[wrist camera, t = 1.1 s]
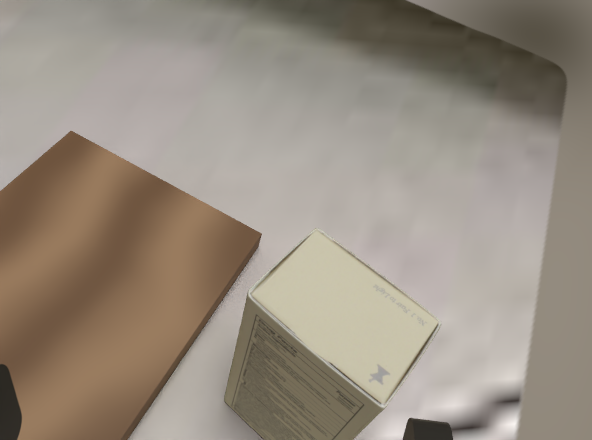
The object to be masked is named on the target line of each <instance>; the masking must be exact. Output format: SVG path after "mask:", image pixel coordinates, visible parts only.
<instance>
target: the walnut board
mask: <svg viewBox="0 0 592 440" xmlns="http://www.w3.org/2000/svg"><path fill="white" fill-rule="evenodd" d="M261 235H262V234H261V233H259V232H258V231H256V230H254V229H252V228H250V227H248V226H246V225H245V224H243V223H241V222H239V221H237V220H235V219H234V218H232V217H230V216H228V215H226V214H224V213H222V212H221V211H219V210H217V209H215V208H213V207H211V206H209V205H208V204H206V203H204V202H202V201H200V200H198V199H197V198H195V197H193V196H191V195H189V194H187V193H185V192H184V191H182V190H180V189H178V188H176V187H174V186H172V185H171V184H169V183H167V182H165V181H163V180H161V179H160V178H158V177H156V176H154V175H152V174H150V173H148V172H147V171H145V170H143V169H141V168H139V167H137V166H135V165H134V164H132V163H130V162H128V161H126V160H124V159H123V158H121V157H119V156H117V155H115V154H113V153H111V152H110V151H108V150H106V149H104V148H102V147H100V146H99V145H97V144H95V143H93V142H91V141H89V140H87V139H86V138H84V137H82V136H80V135H78V134H76V133H74V132H73V131H70V132H69V133H68V134H67V135H66V136H64V137H63V138H62V139H61V140H60V141H59V142H57V143H56V144H55V145H54V146H53V147H51V148H50V149H49V150H48V151H47V152H46V153H44V154H43V155H42V156H41V157H40V158H39V159H37V160H36V161H35V162H34V163H33V164H32V165H30V166H29V167H28V168H27V169H26V170H25V171H23V172H22V173H21V174H20V175H19V176H18V177H16V178H15V179H14V180H13V181H12V182H11V183H9V184H8V185H7V186H6V187H5V188H4V189H2V190H1V191H0V364H4V365H6V366H7V367H8V369H9V372H10V375H11V379H12V382H13V386H14V389H15V392H16V396H17V399H18V403H19V406H20V409H21V413H22V424H21V429H20V433H19V436H18V439H17V440H127V439H128V438H129V437H130V435H131V434H132V432H133V431H134V429H135V428H136V426H137V425H138V423H139V422H140V420H141V419H142V417H143V416H144V414H145V413H146V411H147V410H148V409H149V407H150V406H151V404H152V403H153V401H154V400H155V398H156V397H157V395H158V394H159V392H160V391H161V389H162V388H163V386H164V385H165V383H166V382H167V381H168V379H169V378H170V376H171V375H172V373H173V372H174V370H175V369H176V367H177V366H178V364H179V363H180V361H181V360H182V358H183V357H184V355H185V354H186V353H187V351H188V350H189V348H190V347H191V345H192V344H193V342H194V341H195V339H196V338H197V336H198V335H199V333H200V332H201V330H202V329H203V327H204V326H205V325H206V323H207V322H208V320H209V319H210V317H211V316H212V314H213V313H214V311H215V310H216V308H217V307H218V305H219V304H220V302H221V301H222V299H223V298H224V297H225V295H226V294H227V292H228V291H229V289H230V288H231V286H232V285H233V283H234V282H235V280H236V279H237V277H238V276H239V274H240V273H241V271H242V270H243V269H244V267H245V266H246V264H247V263H248V261H249V260H250V258H251V257H252V255H253V254H254V252H255V251H256V249H257V248H258V246H259V242H260V238H261Z"/></svg>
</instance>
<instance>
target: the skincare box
mask: <svg viewBox="0 0 592 440" xmlns="http://www.w3.org/2000/svg"><path fill="white" fill-rule="evenodd" d="M440 326H441V321H440V320H439V319H438V318H437V317H435V316H434V315H433V314H431V313H430V312H429V311H428V310H427V309H425V308H424V307H423V306H422V305H420V304H419V303H418V302H417V301H416V300H414V299H413V298H412V297H410V296H409V295H408V294H406V293H405V292H404V291H403V290H401V289H400V288H398V287H397V286H396V285H395V284H393V283H392V282H391V281H389V280H388V279H387V278H386V277H384V276H383V275H382V274H380V273H379V272H377V271H376V270H375V269H373V268H372V267H371V266H370V265H369V264H367V263H365V262H364V261H363V260H361V259H360V258H359V257H357V256H356V255H355V254H353V253H352V252H351V251H349V250H348V249H346V248H345V247H344V246H342V245H341V244H340V243H338V242H337V241H336V240H334V239H333V238H332V237H330V236H329V235H327V234H326V233H325V232H323V231H322V230H320V229H319V228H316V229H314V230H313V231H312V232H310V233H309V234H308V235H307V236H306V237H305V238H304V239H303V240H302V241H300V242H299V243H298V244H297V245H296V246H295V247H294V248H293V249H292V250H291V251H289V252H288V253H287V254H286V255H285V256H284V257H283V258H282V259H281V260H280V261H279V262H278V263H277V264H275V265H274V266H273V267H272V268H271V269H270V270H269V271H268V272H267V273H266V274H265V275H264V276H263V277H262V278H261V279H260V280H259V281H258V282H257V283H255V284H254V285H253V286H252V287H251V288H250V289H249V291H248V293H247V298H246V303H245V308H244V312H243V317H242V322H241V326H240V330H239V335H238V339H237V343H236V348H235V352H234V357H233V361H232V366H231V370H230V374H229V379H228V384H227V388H226V392H225V397H224V400H225V402H226V403H227V404H228V405H229V406H230V407H231V408H232V409H233V410H234V411H235V412H236V413H237V414H238V415H239V416H240V417H241V418H242V419H243V420H244V421H245V422H246V423H247V424H248V425H250V426H251V427H252V428H253V429H254V430H255V431H256V432H257V433H258V434H259V435H260V436H261V437H262V438H263V439H264V440H353V439H354V438H355V437H356V436H357V435H358V434H359V433H360V432H361V431H362V430H363V429H364V428H365V427H366V426H367V425H368V424H369V423H370V422H371V421H372V420H373V419H374V418H375V417H376V416H377V415H378V414H379V413H380V412H381V411H383V410H384V409H385V408H386V406H387V405H388V403H389V402H390V400H391V399H392V398H393V396H394V395H395V394H396V392H397V391H398V390H399V388H400V387H401V386H402V384H403V383H404V381H405V380H406V379H407V377H408V376H409V374H410V373H411V371H412V370H413V369H414V367H415V366H416V364H417V363H418V361H419V360H420V358H421V357H422V355H423V354H424V352H425V351H426V349H427V348H428V346H429V345H430V343H431V341H432V340H433V338H434V337H435V335H436V334H437V332H438V330H439V328H440Z"/></svg>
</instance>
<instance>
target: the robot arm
mask: <svg viewBox="0 0 592 440" xmlns="http://www.w3.org/2000/svg"><path fill="white" fill-rule="evenodd" d="M21 424H22V413H21V409H20V406H19V403H18V399H17V396H16V392H15V389H14V386H13V382H12V379H11V375H10V372H9V369H8V367H7V366H6V365H4V364H0V440H17V439H18V436H19V433H20V429H21ZM403 440H453V436H452V431H451V427H450V425H449V424H448V423H446V422H438V421H430V420H422V419H415V418H409V419H408V422H407V425H406V429H405V433H404V436H403Z"/></svg>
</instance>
